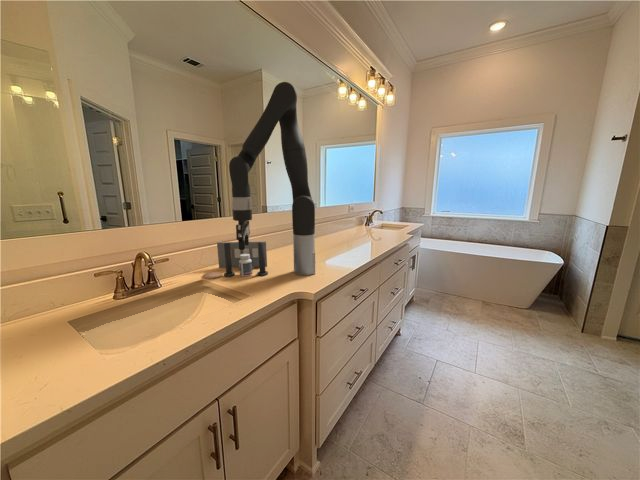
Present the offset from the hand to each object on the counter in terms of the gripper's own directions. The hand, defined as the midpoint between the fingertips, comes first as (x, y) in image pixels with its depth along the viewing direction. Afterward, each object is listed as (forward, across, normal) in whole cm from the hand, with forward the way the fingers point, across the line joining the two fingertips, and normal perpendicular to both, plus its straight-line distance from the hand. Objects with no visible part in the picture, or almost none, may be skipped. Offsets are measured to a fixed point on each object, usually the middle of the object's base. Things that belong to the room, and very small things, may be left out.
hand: (244, 247), depth 107 cm
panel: (+12, +12, +3) cm, 17 cm away
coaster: (+12, 0, +14) cm, 18 cm away
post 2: (+12, 0, -7) cm, 14 cm away
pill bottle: (+12, 0, 0) cm, 12 cm away
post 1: (+12, 0, +7) cm, 14 cm away
